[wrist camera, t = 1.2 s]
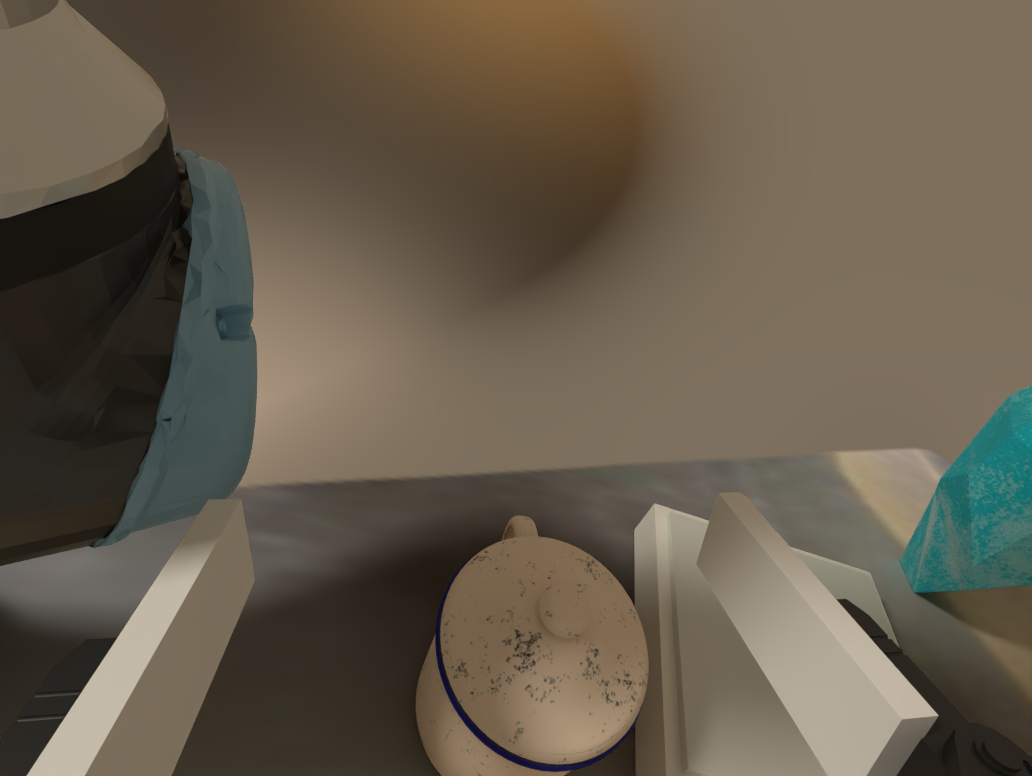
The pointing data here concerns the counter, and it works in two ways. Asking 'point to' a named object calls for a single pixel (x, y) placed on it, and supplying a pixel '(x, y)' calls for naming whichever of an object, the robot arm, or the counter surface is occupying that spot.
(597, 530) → the counter surface
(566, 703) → the teacup with lid
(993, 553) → the crystal
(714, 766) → the plinth
